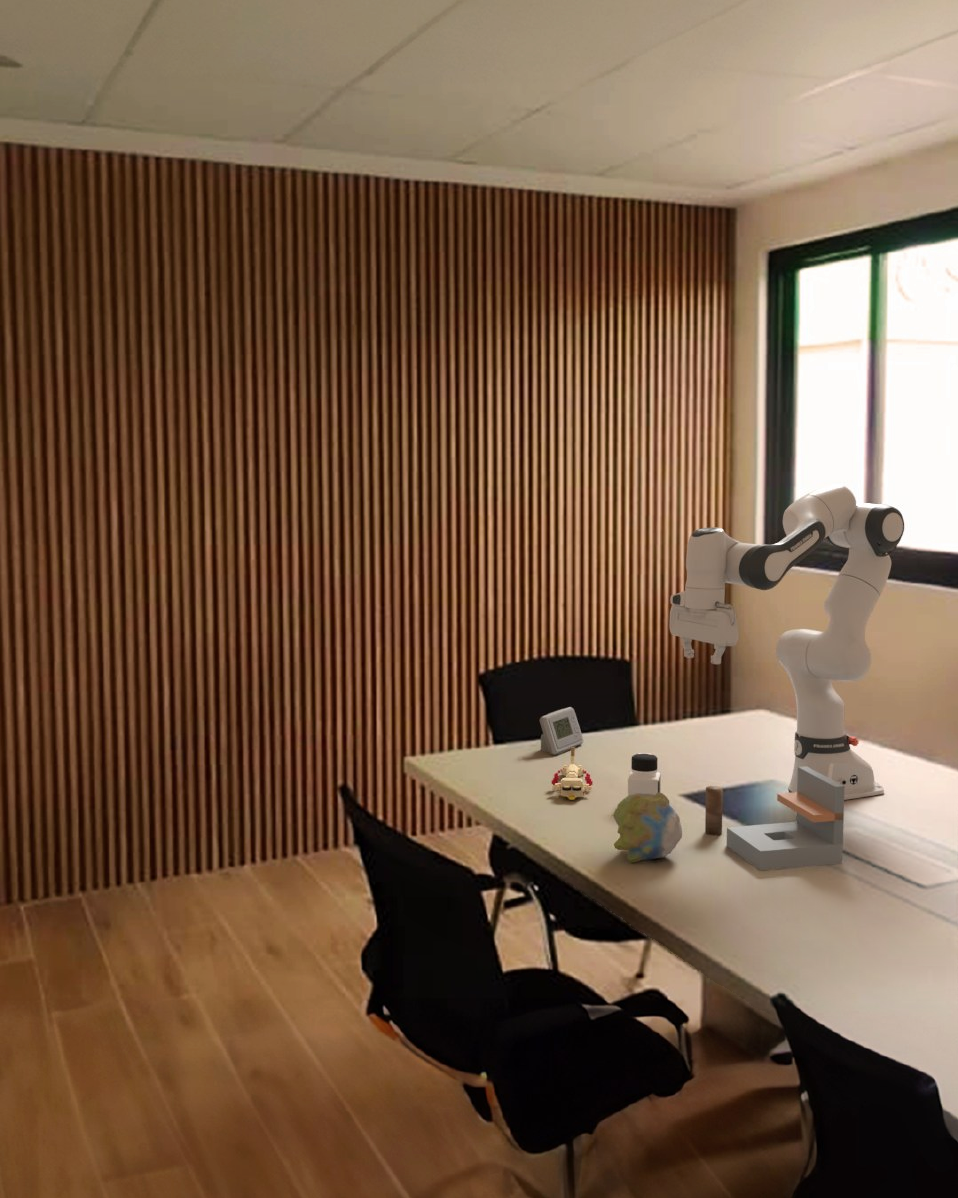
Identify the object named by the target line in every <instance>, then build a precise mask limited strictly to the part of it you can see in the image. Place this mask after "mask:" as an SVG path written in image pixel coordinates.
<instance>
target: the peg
mask: <svg viewBox="0 0 958 1198" xmlns="http://www.w3.org/2000/svg"><path fill="white" fill-rule="evenodd" d="M723 793H724V789H723V787H721V786H718V785H709V786H708V785H707V786H706V787H705V819H704V820H705V821H704V822H705V823H704V824H705V827H704V828H705V830H704V833H705V834H706V835H707V836H721V835H722V834H723V799H724V798H723V797H724V796H723V795H724V794H723Z"/></svg>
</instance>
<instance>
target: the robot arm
mask: <svg viewBox="0 0 958 1198" xmlns="http://www.w3.org/2000/svg"><path fill="white" fill-rule="evenodd" d="M782 526H783V530H784V533H785V535H786V536H785V537H783V538H782V539H781V540H780V541H778V542H777V543H773V544H772V543H771V544H756V543H748V542H747V543H746V542H740V541H739V540H737V539H735V538H733V537H731V536H729V535H728V534H727V533H726V532H725V530H724V529H723V528H721V527H714V526H713V527H712V526H711V527H704V528H703V527H702V528H699V529H696V530H694V531H693V532H691V534H690V536H689V538H688V542H687V546H686V547H687V548H686V559H685V568H686V575H687V578H686V581H685V589H684V590H683V591H680V592H678V593H675V594H672V595H670V604H671V606H670V607H671V608H670V611H669V632H670V634H671V635H672V636H676V637H680V644H681V646H682V649H683V657H685V658H687V659H693V658H694V657H695V655H694V654H695V650H694V649H693V648H692V644H691V643H692V641H693V640H694V641H698V642H702V643H707V644H712V645H713V648H714V652H713V655H710V663H711V664H713V665H721V664H722V656H723V654H724V653H725V651H726V647H734V646H736V645H737V644H738V642H739V625H738V618H737V612H736V610H735V608H734V607H733V605H731V604H729V603H725V598H726V597H725V595H726V593H725V591H726V584H732V585H737V586H741V587H742V586H743V587H749V588H752V589H757V590H761V591H768V590H772V589H774V588H775V587H776V586H778V584H780V582H781V581H782V580H783V578H784V577H785V576H786V574H787V573H788V572H789V571H790V570H791V569H792V568H793V567H794V566H795V565H797V564H798V563H800V561H802V560H803V559H804V558H807V556H808V555H809V554H811V553H812V552H814V551H815V550H816V549H817V548H819V546H820V545H822V543H823V542H824V541H825V543H826V544H828V545H831V546H834V547H837V548H847V549H848V555H847V556H848V557H847V561H846V562H845V564H844V565H843V567H842V568H841V569H840V572H839V573H838V575H837V577H836V578H835V580H834V583H833V584H832V586H831V588H830V590H829V592H828V594H827V595H826V598H825V600H824V602H823V609H824V611H825V613H826V615H827V616H828V618H829V622H828V627H827V628H826V630H824V631H820V630H814V629H809V628H797V629H790V630H787V631H785V632H783V633H782V634H781V636H780V637H779V638H778V640H777V642H776V643H777V644H776V647H775V655H776V659H777V661H778V662H779V664H780V665H781V666H782V668H783V669H784V670H785V672H786V673H787V675H788V677H789V679H790V682H791V685H792V688H793V691H794V695H795V701H796V702H795V703H796V731H795V733H794V745H793V746H794V749H793V750H794V751H793V752H794V756H795V757H794V764H793V770H792V774H791V779H790V782H789V785H788V788H787V789H788V790H789V791H790V793H792V792H797V779H798V767H804V766H807V767H809V768H811V769H813V770H814V771H816V772H818V773H820V774H822V775H824V776H826V777H828V778H830V779H832V780H834V781H836V782H841V783H842V785H843V786H845V789H844V801H845V800H846V801H847V800H851V799H853V800H854V799H859V798H864V797H871V796H872V797H873V796H877V795H878V796H879V795H883V794H884V793H885V790H884V787H883V786H882V785H881V784H880V783H877V782H876V781H875V775H874V770H873V768H872V766H871V765H870V764H869V763H868V762H867V761H866V760H865V759H863V758H862V757H861V756H859V754H857V752H855V751H854V750H852V749H851V746H850V745H852V746H853V747H857V746H858V744H860V740H859V738H858V737H855V736H852V735H851V736H850V735H847V734H846V733H845V714H846V712H845V708H846V707H845V706H846V705H845V703H844V700H843V699H842V698H841V696H840V695H839V694H838V693H837V692H836V690H835V688H834V686H833V684H832V681H835V682H839V683H841V682H843V683H844V682H858V681H860V680H863V678H864V677H865V676H867V674H868V672H869V670H870V668H871V664H872V653H871V650H870V648H869V646H868V645H867V643H866V627H867V625H868V622H869V621H870V620H869V619H870V617H871V615H872V613H873V610H874V608H875V607H876V604H877V603H878V601H879V599H880V597H881V595H882V593H883V591H884V588H885V587H886V584H887V581H888V579H889V578H888V577H889V576H890V573H891V567H892V559H891V557H890V555H891V554H892V553H893V552H895V550H896V549H897V546H898V545H899V544H900V542H901V540H902V537H903V535H904V532H905V521H904V517H903V515H902V512H901V511H900V510H899V509H898V508H896V507H893V506H891V505H888V504H883V503H882V504H881V503H879V504H876V503H867V502H859V503H857V500H856V497H855V495H854V492H852V490H850V489H849V487H846V486H845V485H842V484H838V483H836V484H835V483H834V484H833V483H832V484H830V485H829V484H828V485H826V486H823V487H820V488H818V489H815V490H813V491H811V492H809V493H807V494H805V495H804V496H801V497H800V498H798V499H796V500H795V501H793V502H792V503H791V504H789V505H788V507H787V508H786V509H785V510H784V512H783V516H782Z"/></svg>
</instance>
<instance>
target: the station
mask: <svg viewBox="0 0 958 1198" xmlns="http://www.w3.org/2000/svg"><path fill="white" fill-rule="evenodd" d="M844 789H845V786H843V785H841V784H839V783H837V782H836V781H834V780H832V779H830V778H828V777H826V776H824V775H822V774H820V773H818V772H816V771H814V770H813V769H811V768H809V767H807V766H804V767H798V779H797V792H781V793H777V794H776V796H777V797H776V800H777V801H776V802H778V803H781V804H782V805H784V806H785V807H787V808H789V809H790V810H793V812H795V813H796V818H795V819H796V821H790V822H777V823H764V824H752V825H740V826H732V827H731V826H729V827H726V847H728V848H729V849H730V850H732V851H733V852H734V853H735V854H736V855H738V856H739V857H741V858H742V859H743V860H745V861H746V862H748V863H749V864H751V866H753V867H755V868H756V869H757V870H759V871H773V870H780V869H794V868H802V867H803V868H805V867H815V866H823V865H826V866H827V865H836V864H843V855H844V854H843V852H844V851H843V849H844V848H843V847H844V846H843V845H844V821H845V820H844V816H845V800H844Z"/></svg>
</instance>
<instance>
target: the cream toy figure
mask: <svg viewBox="0 0 958 1198" xmlns="http://www.w3.org/2000/svg"><path fill="white" fill-rule="evenodd" d="M575 752H576V751H575V747H571V750H570V764H569V765H567V764H564V765H563V768H562V769H560V770H557V772H555V773H554V774H553V776H554V777H553V778H552V779H551V785H552V789H551V790H552V791H555V792H558V791H560V792H558V796H561V797H564V798H565V797H566V798H568V800H571V801H572V800H576V798H581V797H585V796H586V793H588V792H590V791H592V786H593V780H592V778H591V774H590V773H589V772H587V770H584V769H582V767H583V765H582V764H578V765H576V764H575V755H576V754H575ZM559 774H562V776H563V777H562V779H561V780H560V776H559ZM584 774H585V776H584V781H585V783H584V782H583V779H582V776H583V775H584ZM559 781H560V782H559ZM583 791H586V792H584V793H583Z"/></svg>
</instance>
